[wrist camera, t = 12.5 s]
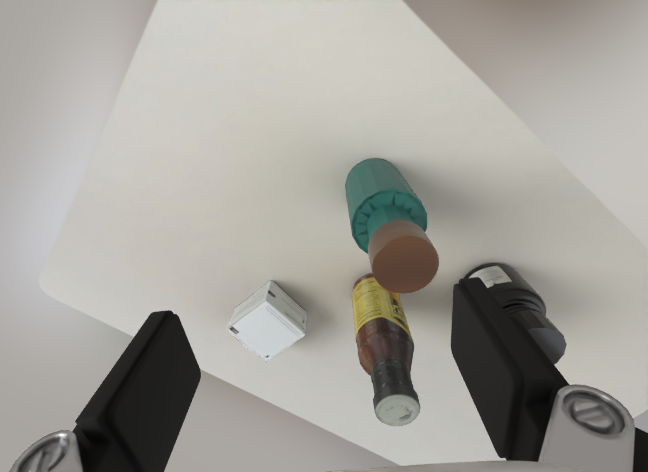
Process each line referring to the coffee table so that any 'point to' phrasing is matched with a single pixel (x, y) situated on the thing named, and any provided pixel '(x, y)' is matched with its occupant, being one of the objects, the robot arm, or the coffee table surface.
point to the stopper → (402, 257)
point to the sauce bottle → (385, 351)
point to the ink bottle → (522, 306)
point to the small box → (268, 322)
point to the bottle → (379, 199)
